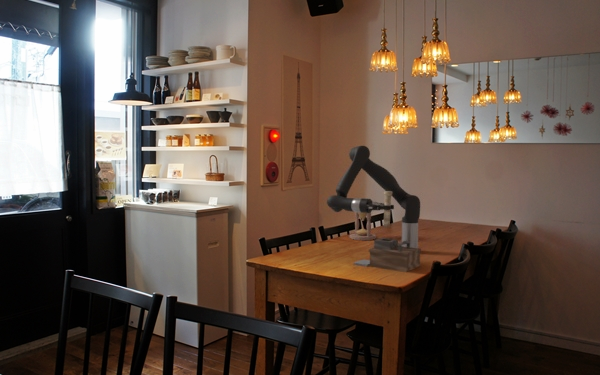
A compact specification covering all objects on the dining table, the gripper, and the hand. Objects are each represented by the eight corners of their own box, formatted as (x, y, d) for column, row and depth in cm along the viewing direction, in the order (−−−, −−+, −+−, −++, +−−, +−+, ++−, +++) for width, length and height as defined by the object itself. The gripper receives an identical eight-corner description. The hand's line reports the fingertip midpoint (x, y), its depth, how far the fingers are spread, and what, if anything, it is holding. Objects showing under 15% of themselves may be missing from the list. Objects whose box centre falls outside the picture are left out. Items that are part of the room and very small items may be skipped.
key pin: (384, 225, 267) (386, 190, 266) (392, 226, 265) (393, 191, 263) (380, 226, 264) (382, 191, 262) (388, 227, 262) (390, 192, 260)
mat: (362, 261, 275) (362, 259, 275) (376, 263, 270) (376, 261, 270) (353, 264, 267) (353, 262, 267) (367, 266, 262) (367, 264, 262)
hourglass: (380, 239, 342) (380, 202, 340) (356, 241, 337) (356, 202, 335) (368, 235, 359) (369, 199, 357) (345, 236, 353) (345, 200, 352)
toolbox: (383, 260, 276) (384, 236, 275) (420, 266, 264) (421, 240, 263) (368, 266, 262) (368, 240, 261) (406, 272, 250) (407, 245, 249)
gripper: (355, 199, 266) (385, 201, 256) (368, 197, 278) (398, 199, 267) (355, 214, 267) (385, 216, 257) (368, 211, 278) (398, 213, 268)
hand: (391, 207), depth 262 cm, fingers closed on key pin, 3 cm apart
